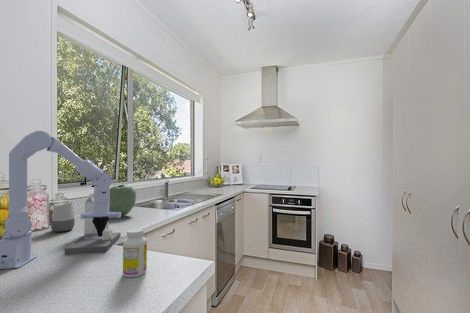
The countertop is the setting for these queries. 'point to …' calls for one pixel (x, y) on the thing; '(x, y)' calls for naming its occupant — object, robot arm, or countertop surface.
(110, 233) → the fader knob
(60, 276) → the countertop surface
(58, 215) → the smart speaker
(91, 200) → the milk carton
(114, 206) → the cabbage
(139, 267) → the supplement bottle
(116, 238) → the console board
